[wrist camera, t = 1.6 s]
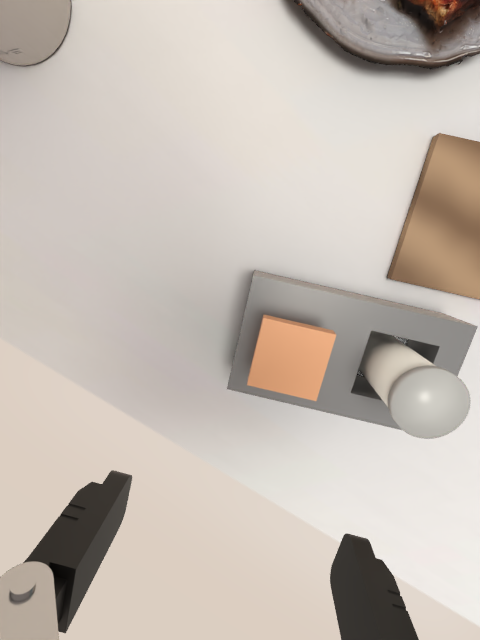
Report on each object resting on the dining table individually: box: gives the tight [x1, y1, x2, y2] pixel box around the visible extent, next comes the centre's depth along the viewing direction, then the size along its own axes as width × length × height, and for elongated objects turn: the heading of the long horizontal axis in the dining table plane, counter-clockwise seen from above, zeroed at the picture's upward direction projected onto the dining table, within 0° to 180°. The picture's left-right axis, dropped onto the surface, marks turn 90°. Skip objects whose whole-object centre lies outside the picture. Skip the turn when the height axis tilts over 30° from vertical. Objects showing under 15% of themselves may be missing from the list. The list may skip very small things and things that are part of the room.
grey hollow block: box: [227, 270, 477, 430], centre depth 29 cm, size 10×18×5 cm, turn 77°
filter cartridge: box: [359, 331, 470, 439], centre depth 26 cm, size 5×5×11 cm
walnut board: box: [387, 133, 480, 299], centre depth 28 cm, size 12×12×1 cm
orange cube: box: [247, 315, 336, 401], centre depth 26 cm, size 5×5×5 cm
